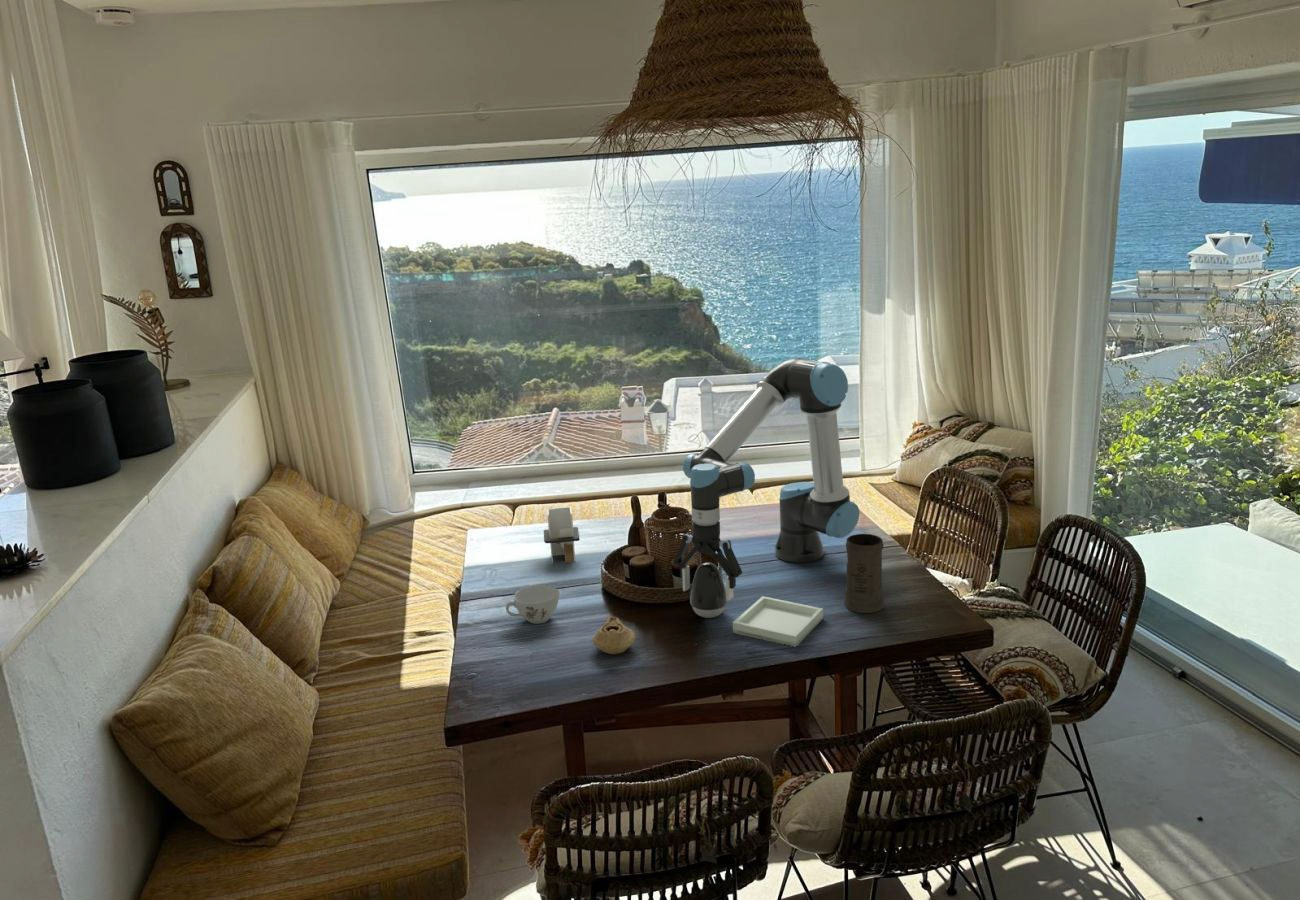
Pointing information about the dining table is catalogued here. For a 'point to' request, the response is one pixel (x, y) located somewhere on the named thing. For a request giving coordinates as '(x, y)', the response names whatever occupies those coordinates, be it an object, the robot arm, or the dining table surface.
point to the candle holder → (561, 533)
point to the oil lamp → (614, 637)
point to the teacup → (535, 603)
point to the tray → (778, 621)
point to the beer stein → (864, 573)
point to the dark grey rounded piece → (708, 591)
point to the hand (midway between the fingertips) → (707, 593)
